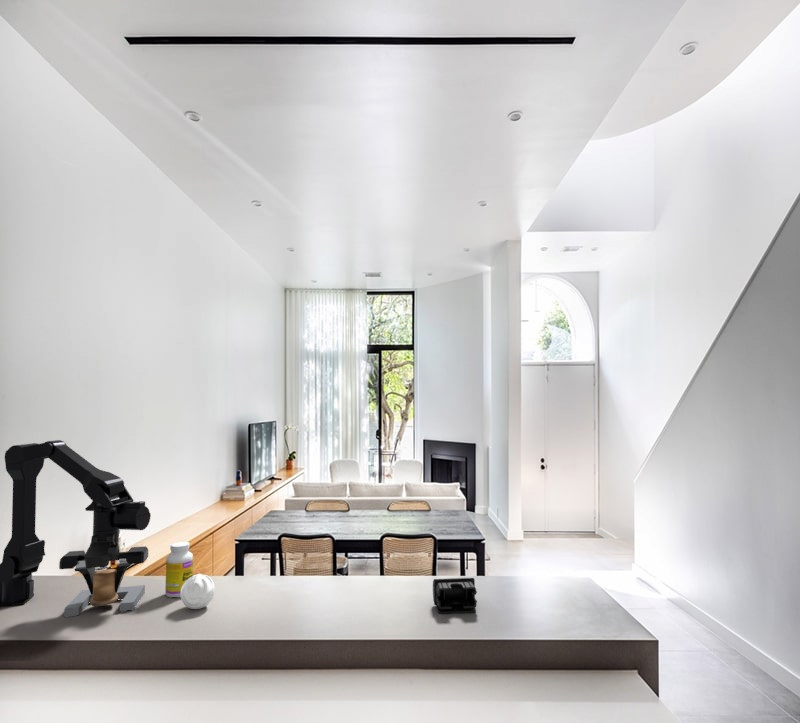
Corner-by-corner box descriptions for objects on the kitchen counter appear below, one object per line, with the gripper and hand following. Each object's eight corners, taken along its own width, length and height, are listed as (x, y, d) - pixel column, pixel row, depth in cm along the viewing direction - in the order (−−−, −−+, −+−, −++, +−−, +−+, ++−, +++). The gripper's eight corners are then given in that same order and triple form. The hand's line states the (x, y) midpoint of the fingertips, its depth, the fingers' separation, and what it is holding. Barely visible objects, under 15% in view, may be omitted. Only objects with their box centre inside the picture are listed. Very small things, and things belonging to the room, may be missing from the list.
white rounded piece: (175, 614, 128) (176, 581, 128) (185, 602, 136) (186, 571, 136) (210, 613, 129) (210, 580, 129) (218, 601, 136) (218, 569, 137)
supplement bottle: (182, 599, 137) (183, 548, 138) (159, 597, 139) (160, 547, 140) (197, 590, 144) (198, 541, 145) (175, 588, 145) (176, 540, 146)
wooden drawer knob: (86, 607, 129) (87, 577, 130) (94, 598, 135) (95, 569, 135) (114, 604, 131) (114, 575, 131) (120, 595, 136) (121, 567, 137)
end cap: (472, 601, 135) (472, 574, 135) (478, 613, 127) (478, 584, 128) (432, 603, 134) (432, 575, 134) (436, 614, 127) (436, 585, 127)
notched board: (64, 617, 127) (64, 608, 127) (81, 598, 139) (82, 590, 139) (133, 610, 131) (133, 602, 131) (144, 592, 142) (144, 585, 142)
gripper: (51, 539, 124) (48, 609, 123) (139, 534, 128) (137, 601, 127) (68, 528, 135) (66, 591, 134) (149, 523, 139) (148, 585, 138)
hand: (104, 592), depth 133 cm, fingers closed on wooden drawer knob, 5 cm apart
